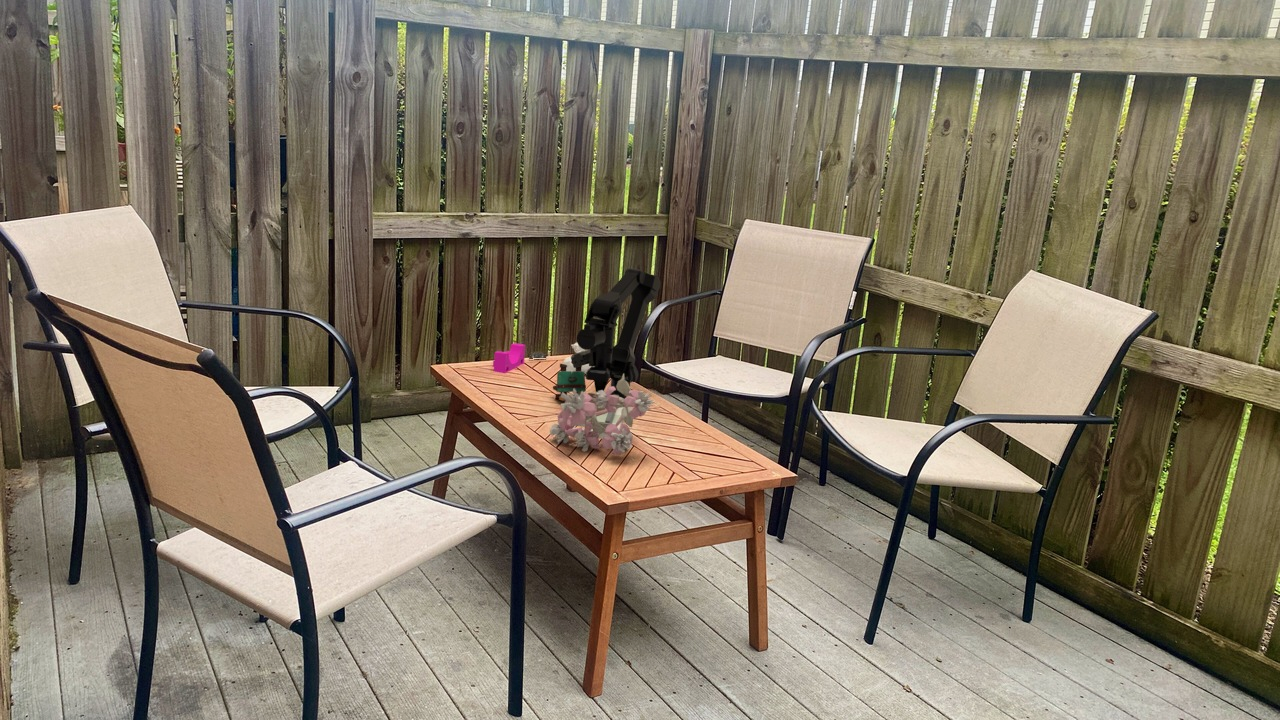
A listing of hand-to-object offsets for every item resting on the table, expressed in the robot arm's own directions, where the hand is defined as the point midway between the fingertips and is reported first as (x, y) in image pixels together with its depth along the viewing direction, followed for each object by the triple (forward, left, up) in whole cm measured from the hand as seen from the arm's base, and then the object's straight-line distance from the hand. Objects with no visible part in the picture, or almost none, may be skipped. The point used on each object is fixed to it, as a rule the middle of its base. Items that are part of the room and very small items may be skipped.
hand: (598, 397), depth 275 cm
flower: (+24, +15, +8) cm, 29 cm away
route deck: (+13, 0, -4) cm, 14 cm away
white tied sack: (-34, -9, -4) cm, 36 cm away
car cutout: (-47, -22, -4) cm, 52 cm away
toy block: (-32, -33, -4) cm, 46 cm away
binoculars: (-9, -11, 0) cm, 14 cm away
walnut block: (+8, 0, -2) cm, 8 cm away
